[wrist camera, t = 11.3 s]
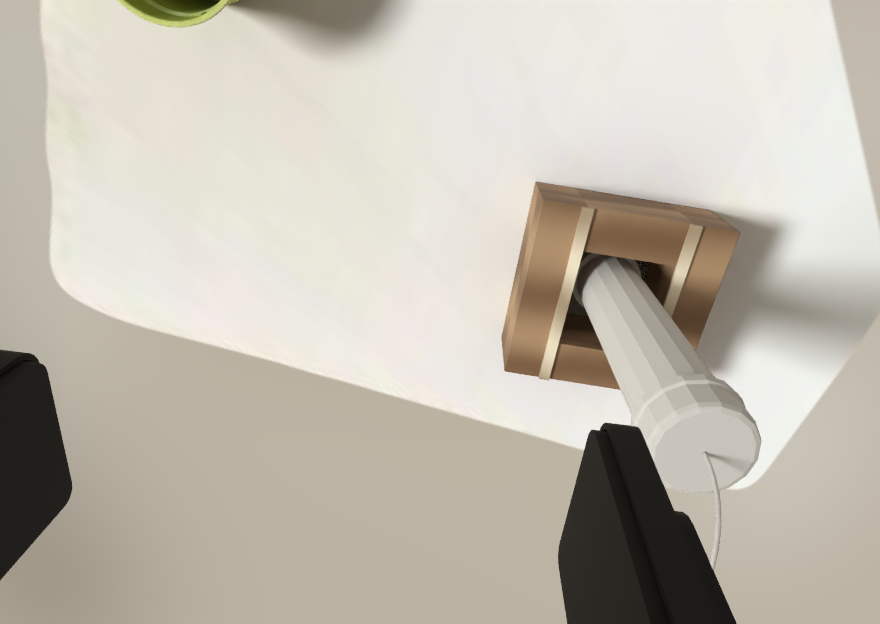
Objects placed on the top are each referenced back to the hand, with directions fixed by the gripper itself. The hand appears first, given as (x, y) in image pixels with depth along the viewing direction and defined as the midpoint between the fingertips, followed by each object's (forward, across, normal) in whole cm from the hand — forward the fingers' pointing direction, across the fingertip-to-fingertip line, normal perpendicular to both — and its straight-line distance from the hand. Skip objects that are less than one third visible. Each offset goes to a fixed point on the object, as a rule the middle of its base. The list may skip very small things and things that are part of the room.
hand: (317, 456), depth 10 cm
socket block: (+38, -14, +10) cm, 42 cm away
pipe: (+39, -14, +10) cm, 42 cm away
